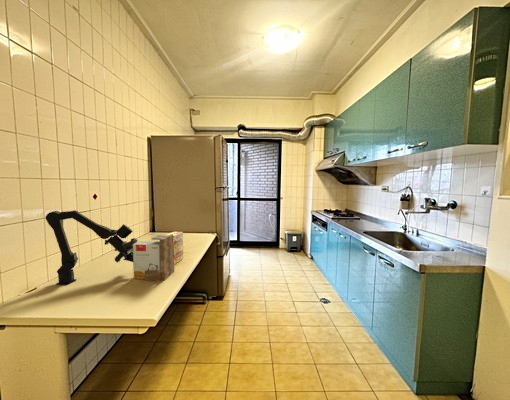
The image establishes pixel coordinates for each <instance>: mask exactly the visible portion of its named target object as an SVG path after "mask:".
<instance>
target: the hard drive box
mask: <svg viewBox="0 0 510 400" xmlns="http://www.w3.org/2000/svg"><path fill="white" fill-rule="evenodd" d="M132 264H133V268H132V269H133V279H140V280H143V279H144V280H145V271H146V270H151V271H161V266H160V240H159V241H158V240H156V241H155V240H154V241H152V240H151V241H150V240H145V241H143V240H139V241H137V242H136V243H134V244H133V262H132Z"/></svg>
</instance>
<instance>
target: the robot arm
mask: <svg viewBox="0 0 510 400" xmlns="http://www.w3.org/2000/svg"><path fill="white" fill-rule="evenodd" d="M68 219H73V220H75V221H76V222H78V223H80V224H81V225H83V226H85V227H86V228H89V229H90V230H92V231H93V232H94V233H95V234H96V236H98V237H99V238H100V239H102V240H104V245H105V246H106V245H111V246H112V248H114V252H118V253H117V255H116V256H115V257H114V262H115V263H119V262H120V261H121V260H122V259H123V261H127V262H131V263H133V244H134V243H136V242H138V239H137V238H136V237H133V238H131V239H130V241H128V242H127V241H124V240H123V239H127V238H128V237H129V236H130V235H131V234H132V233H133V230H132V229H131V228H130V227H129V226H127V225H126V224H122V225H121V226H119V228H118V229H111V228H109V227H107V226H105V225H102V224H98V222H95V221H94V220H92V219H90V218H88V217H87V216H86V215H84V214H82V213H80V212H79V211H78V210H76V209H75V210H67V211H59V210H53V211H50V212H48V213H46V215H45V220H46V222H47V224H48V226H49V227H50V228H51V229H52V230H53V233H54V235H55V239H56V243H57V244H58V245H57V246H58V248H59V251H60V254H61V259H60V260H61V265H60V267H59V268H58V269H57V270H56V274H57V277H58V281H57V282H56V283H55V285H59V286H60V285H61V286H67V285H69V284H70V285H71V284H72V283H73V282H76V281H77V278H75V272H74V269H73V268H75V266H76V265H77V263H78V260H79V257H78V255H77V251H75V252H73V251H72V250H71V247H70V244H69V240H68V237H67V235H66V232H65V228H64V220H68Z"/></svg>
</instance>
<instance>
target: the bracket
mask: <svg viewBox="0 0 510 400" xmlns="http://www.w3.org/2000/svg"><path fill="white" fill-rule="evenodd" d="M152 240H154V241H155V240H156V241H158V240H159V242H160V266H161V271H151V270H146V271H145V279H144V280H145V281H157V282H159V281H160V282H161V281H166V280H167V279H168V278H170V276H171V275H172V274H173V273H175V264H174V245H173V234H170V235H167V234H163V235H162V234H159V235H156V236H153V237H151V241H152Z"/></svg>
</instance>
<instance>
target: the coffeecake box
mask: <svg viewBox="0 0 510 400" xmlns="http://www.w3.org/2000/svg"><path fill="white" fill-rule="evenodd" d="M183 233H184V231H172V232H170V233H169V232H168V233H167V234H166V235H170V234H173V245H174V265H176V264H178V263H180V262H181V261H182V260H184V235H183Z"/></svg>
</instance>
